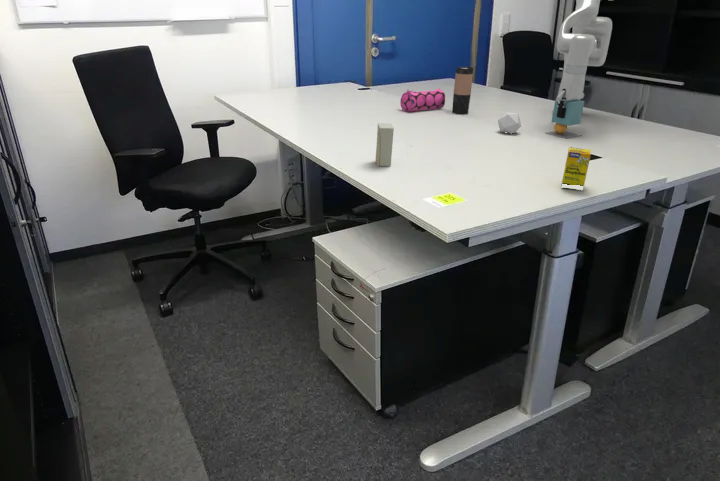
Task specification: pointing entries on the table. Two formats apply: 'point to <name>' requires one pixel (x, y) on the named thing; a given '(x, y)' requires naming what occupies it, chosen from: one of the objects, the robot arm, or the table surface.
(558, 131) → the ball
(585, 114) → the table surface
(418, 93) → the pencil case
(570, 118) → the teal toy cube
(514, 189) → the table surface
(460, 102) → the travel mug
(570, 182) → the supplement box
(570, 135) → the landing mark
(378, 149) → the skincare box
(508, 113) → the die
